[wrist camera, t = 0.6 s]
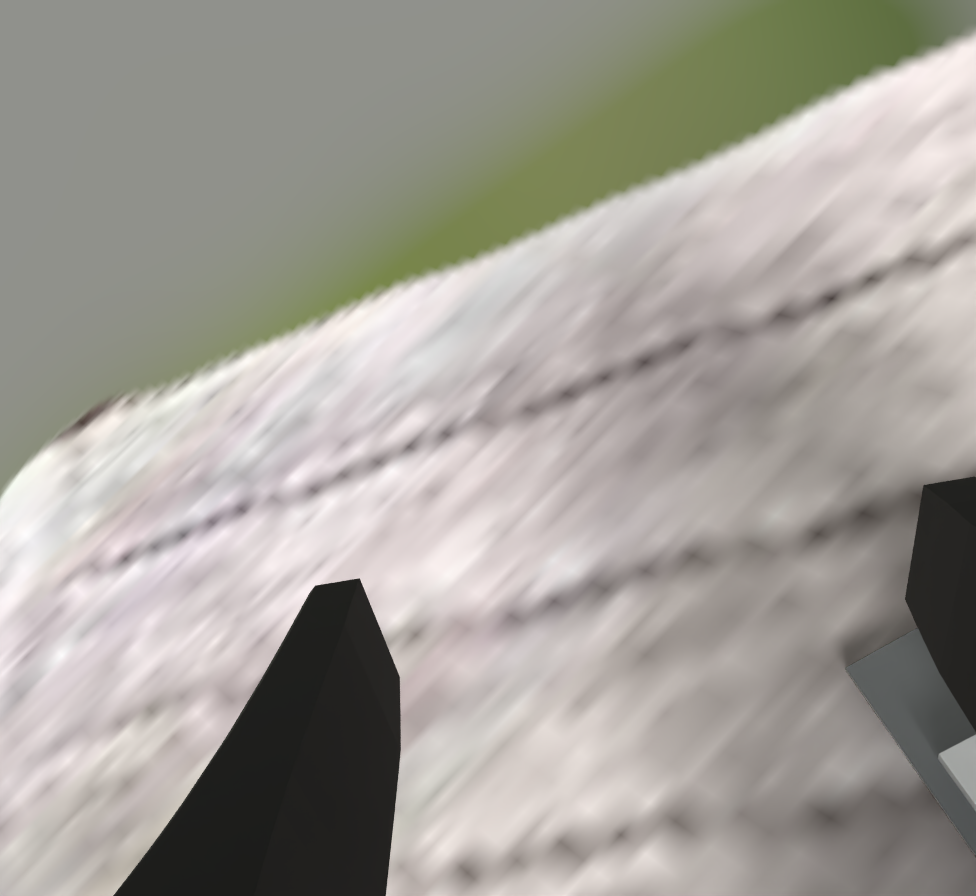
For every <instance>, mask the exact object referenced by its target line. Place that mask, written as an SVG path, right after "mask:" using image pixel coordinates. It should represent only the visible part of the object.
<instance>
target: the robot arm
mask: <svg viewBox="0 0 976 896" xmlns="http://www.w3.org/2000/svg"><path fill="white" fill-rule="evenodd" d="M905 600H906V602H907V604H908V606H909V609H910V611H911V613H912V616H913V618H914V620H915V622H916V625H917V627H918V629H919V631H920V634H921V636H922V638H923V640H924V642H925V644H926V646H927V649H928V651H929V653H930V655H931V657H932V659H933V661H934V663H935V665H936V667H937V669H938V671H939V673H940V675H941V677H942V678H943V680H944V682H945V683H946V685H947V687H948V688H949V690H950V691H951V693H952V695H953V696H954V698H955V700H956V701H957V703H958V704H959V706H960V708H961V709H962V711H963V712H964V714H965V716H966V717H967V719H968V721H969V722H970V724H971V725H972V727H973V729H974V730H975V732H976V477H970V478H964V479H958V480H952V481H946V482H940V483H934V484H928V485H924V486H923V492H922V498H921V504H920V510H919V517H918V523H917V529H916V535H915V541H914V547H913V554H912V560H911V566H910V572H909V578H908V584H907V591H906V597H905ZM400 751H401V729H400V676H399V674H398V672H397V669H396V667H395V664H394V662H393V659H392V657H391V654H390V652H389V649H388V647H387V645H386V642H385V640H384V637H383V635H382V632H381V630H380V627H379V625H378V622H377V620H376V617H375V615H374V613H373V610H372V608H371V605H370V603H369V600H368V598H367V595H366V593H365V590H364V588H363V585H362V583H361V581H360V578H359V579H353V580H347V581H341V582H335V583H329V584H323V585H317V586H315V587H314V588H313V589H312V591H311V592H310V594H309V595H308V597H307V599H306V601H305V602H304V604H303V606H302V608H301V610H300V611H299V613H298V615H297V617H296V619H295V620H294V622H293V624H292V626H291V628H290V630H289V631H288V633H287V635H286V637H285V639H284V640H283V642H282V644H281V646H280V647H279V649H278V651H277V653H276V654H275V656H274V658H273V660H272V661H271V663H270V665H269V667H268V668H267V670H266V672H265V674H264V675H263V677H262V679H261V681H260V682H259V684H258V686H257V687H256V689H255V691H254V692H253V694H252V696H251V697H250V699H249V701H248V702H247V704H246V705H245V707H244V709H243V710H242V712H241V714H240V715H239V717H238V719H237V720H236V722H235V724H234V725H233V727H232V729H231V730H230V732H229V733H228V735H227V737H226V738H225V740H224V741H223V743H222V745H221V746H220V748H219V749H218V751H217V752H216V754H215V755H214V757H213V758H212V760H211V761H210V763H209V764H208V766H207V767H206V769H205V770H204V772H203V773H202V775H201V776H200V778H199V779H198V781H197V782H196V784H195V785H194V787H193V788H192V790H191V791H190V793H189V794H188V796H187V797H186V799H185V800H184V802H183V803H182V805H181V806H180V807H179V809H178V810H177V812H176V813H175V814H174V816H173V817H172V819H171V820H170V821H169V823H168V824H167V826H166V827H165V828H164V830H163V831H162V833H161V834H160V835H159V837H158V838H157V839H156V841H155V842H154V843H153V845H152V846H151V847H150V849H149V850H148V852H147V853H146V854H145V855H144V857H143V858H142V859H141V861H140V862H139V863H138V865H137V866H136V867H135V868H134V870H133V871H132V872H131V874H130V875H129V876H128V878H127V879H126V880H125V881H124V883H123V884H122V885H121V887H120V888H119V889H118V890H117V892H116V893H115V894H114V895H113V896H386V887H387V878H388V869H389V859H390V850H391V840H392V831H393V822H394V812H395V802H396V792H397V782H398V773H399V762H400Z"/></svg>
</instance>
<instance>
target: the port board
mask: <svg viewBox="0 0 976 896" xmlns="http://www.w3.org/2000/svg"><path fill="white" fill-rule="evenodd" d="M845 669H846V671H847V673H848V674H849V676H850V677H851V679H852V680H853V682H854V683H855V684H856V686H857V687H858V689H859V690H860V692H861V693H862V695H863V696H864V697H865V699H866V700H867V702H868V703H869V705H870V706H871V707H872V709H873V710H874V712H875V713H876V715H877V716H878V718H879V719H880V720H881V722H882V723H883V725H884V726H885V728H886V729H887V731H888V732H889V733H890V735H891V736H892V738H893V739H894V741H895V742H896V743H897V745H898V746H899V748H900V749H901V751H902V752H903V754H904V755H905V756H906V758H907V759H908V761H909V762H910V764H911V765H912V766H913V768H914V769H915V771H916V772H917V774H918V775H919V777H920V778H921V779H922V781H923V782H924V784H925V785H926V787H927V788H928V789H929V791H930V792H931V794H932V795H933V797H934V798H935V800H936V801H937V802H938V804H939V805H940V807H941V808H942V810H943V811H944V812H945V814H946V815H947V817H948V818H949V820H950V821H951V823H952V824H953V825H954V827H955V828H956V830H957V831H958V833H959V834H960V835H961V837H962V838H963V840H964V841H965V843H966V844H967V846H968V847H969V848H970V850H971V851H972V853H973V854H974V856H975V857H976V732H975V730H974V729H973V727H972V725H971V724H970V722H969V721H968V719H967V717H966V716H965V714H964V712H963V711H962V709H961V708H960V706H959V704H958V703H957V701H956V700H955V698H954V696H953V695H952V693H951V691H950V690H949V688H948V687H947V685H946V683H945V682H944V680H943V678H942V677H941V675H940V673H939V671H938V669H937V667H936V665H935V663H934V661H933V659H932V657H931V655H930V653H929V651H928V649H927V646H926V644H925V642H924V640H923V638H922V636H921V634H920V631H919V629H918V628H916V629H914V630H913V631H911V632H909V633H907V634H905V635H904V636H902V637H900V638H898V639H896V640H895V641H893V642H891V643H889V644H887V645H886V646H884V647H882V648H880V649H878V650H877V651H875V652H873V653H871V654H869V655H868V656H866V657H864V658H862V659H860V660H859V661H857V662H855V663H853V664H851V665H850V666H848V667H846V668H845Z"/></svg>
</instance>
